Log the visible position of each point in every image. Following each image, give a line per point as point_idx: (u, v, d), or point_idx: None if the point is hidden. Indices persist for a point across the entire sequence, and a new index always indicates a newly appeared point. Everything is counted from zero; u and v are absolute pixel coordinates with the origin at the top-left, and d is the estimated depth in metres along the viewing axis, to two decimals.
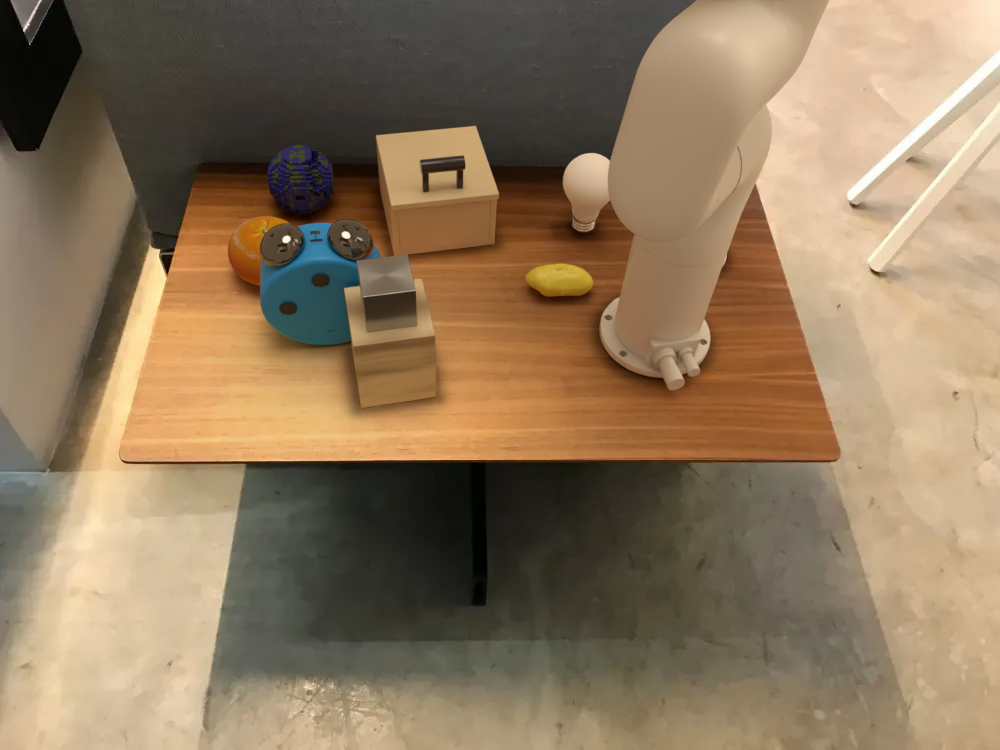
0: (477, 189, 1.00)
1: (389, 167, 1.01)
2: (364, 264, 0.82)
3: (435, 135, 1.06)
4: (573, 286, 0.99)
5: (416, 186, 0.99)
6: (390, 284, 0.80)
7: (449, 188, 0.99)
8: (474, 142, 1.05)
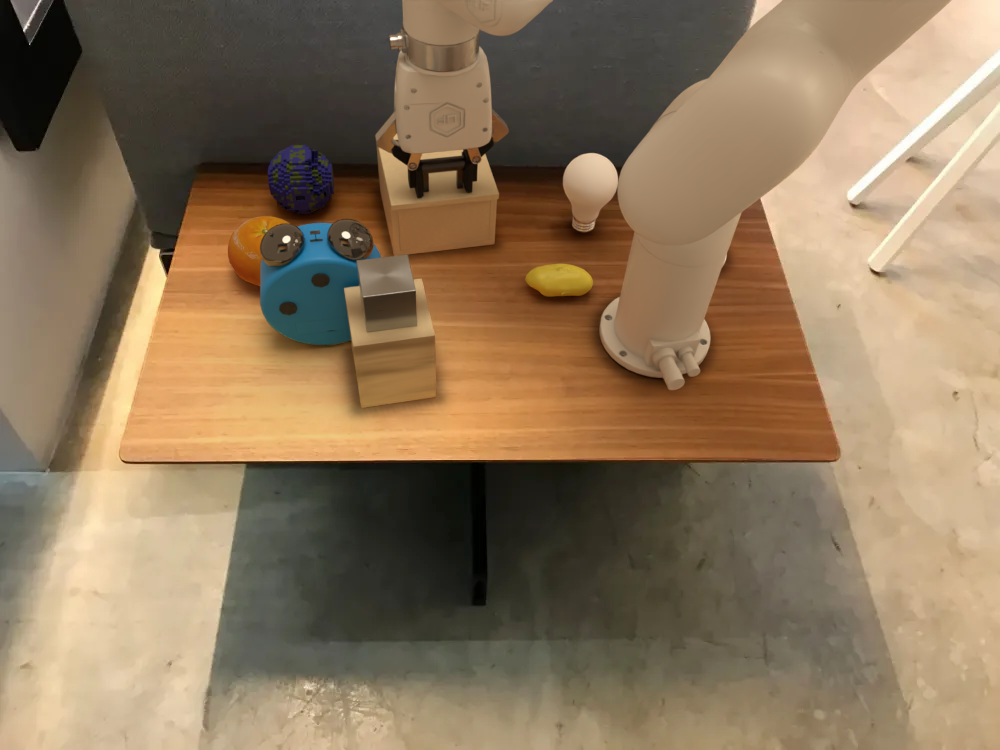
0: (477, 189, 1.00)
1: (389, 167, 1.01)
2: (364, 264, 0.82)
3: None
4: (573, 286, 0.99)
5: None
6: (390, 284, 0.80)
7: (449, 188, 0.99)
8: None
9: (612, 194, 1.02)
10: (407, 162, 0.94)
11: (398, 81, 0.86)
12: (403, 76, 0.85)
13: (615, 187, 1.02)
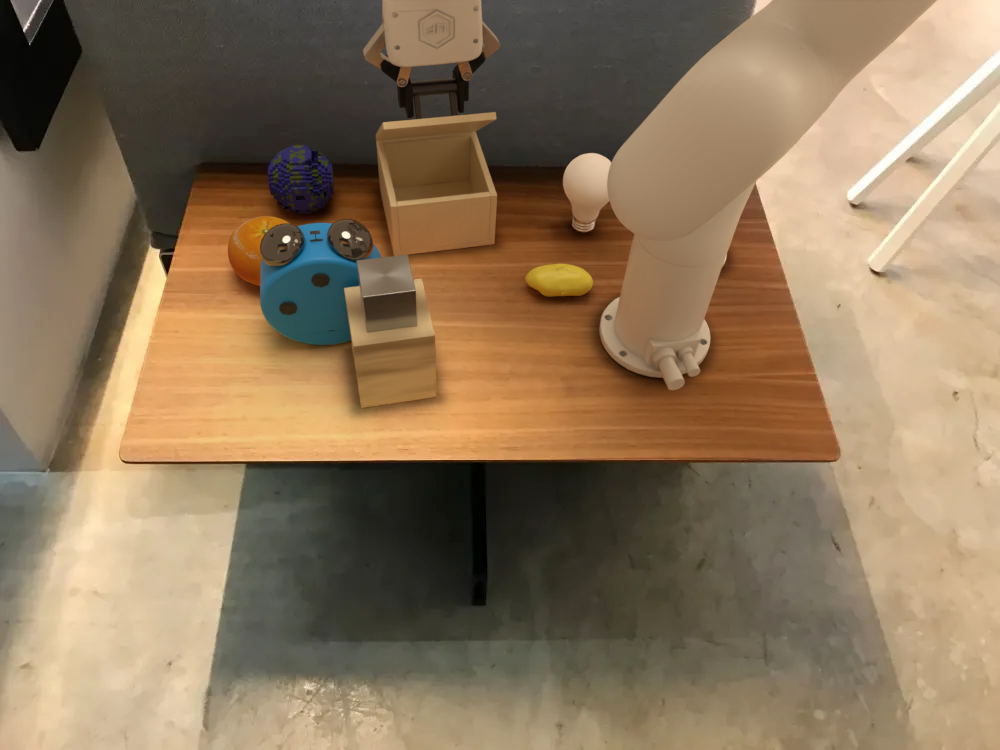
0: None
1: None
2: (364, 264, 0.82)
3: None
4: (573, 286, 0.99)
5: None
6: (390, 284, 0.80)
7: None
8: None
9: None
10: (396, 78, 0.92)
11: None
12: None
13: None
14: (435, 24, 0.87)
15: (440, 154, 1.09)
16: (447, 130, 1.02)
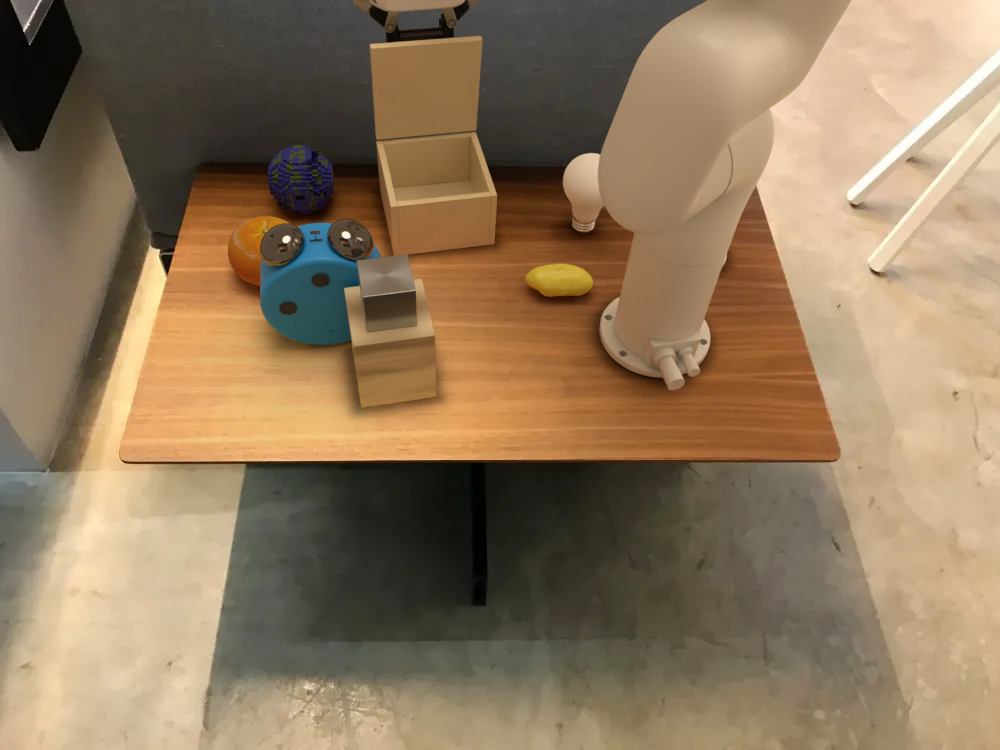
0: None
1: None
2: (364, 264, 0.82)
3: None
4: (573, 286, 0.99)
5: None
6: (390, 284, 0.80)
7: None
8: None
9: None
10: (384, 24, 0.97)
11: None
12: None
13: None
14: None
15: (440, 154, 1.09)
16: (442, 99, 1.02)
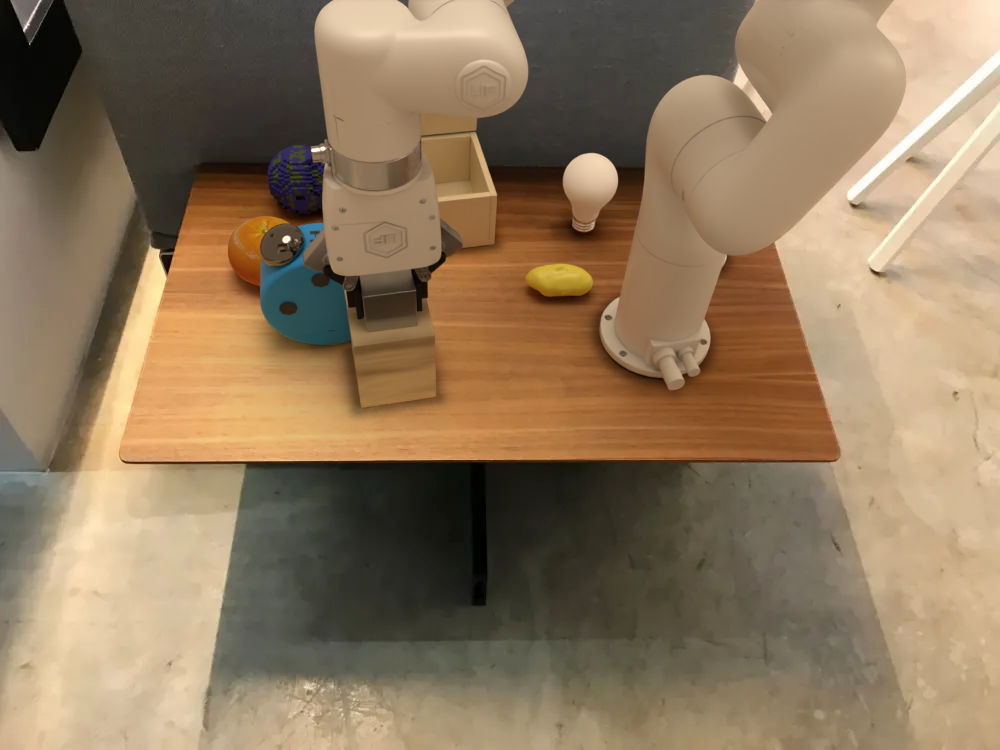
0: None
1: None
2: None
3: None
4: (573, 286, 0.99)
5: None
6: (390, 284, 0.80)
7: None
8: None
9: (612, 194, 1.02)
10: (342, 282, 0.79)
11: (324, 198, 0.71)
12: (329, 194, 0.70)
13: (615, 187, 1.02)
14: (384, 235, 0.74)
15: (440, 154, 1.09)
16: None
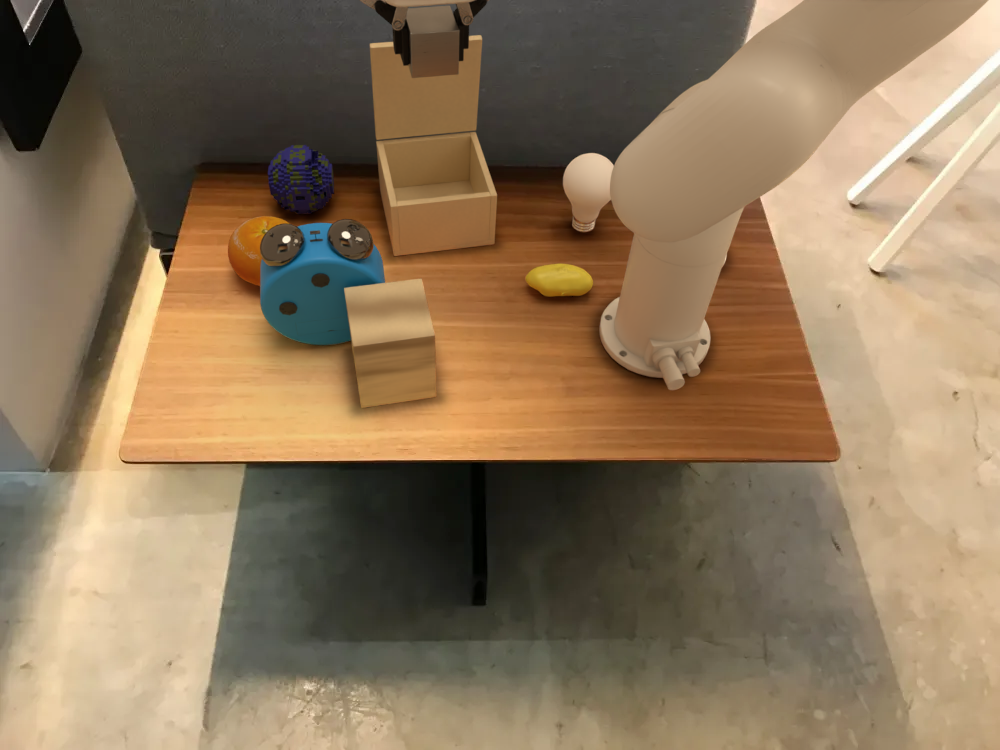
0: None
1: None
2: (410, 11, 0.88)
3: None
4: (573, 286, 0.99)
5: None
6: (435, 26, 0.87)
7: None
8: None
9: None
10: (392, 20, 0.86)
11: None
12: None
13: None
14: None
15: (440, 154, 1.09)
16: (442, 99, 1.02)
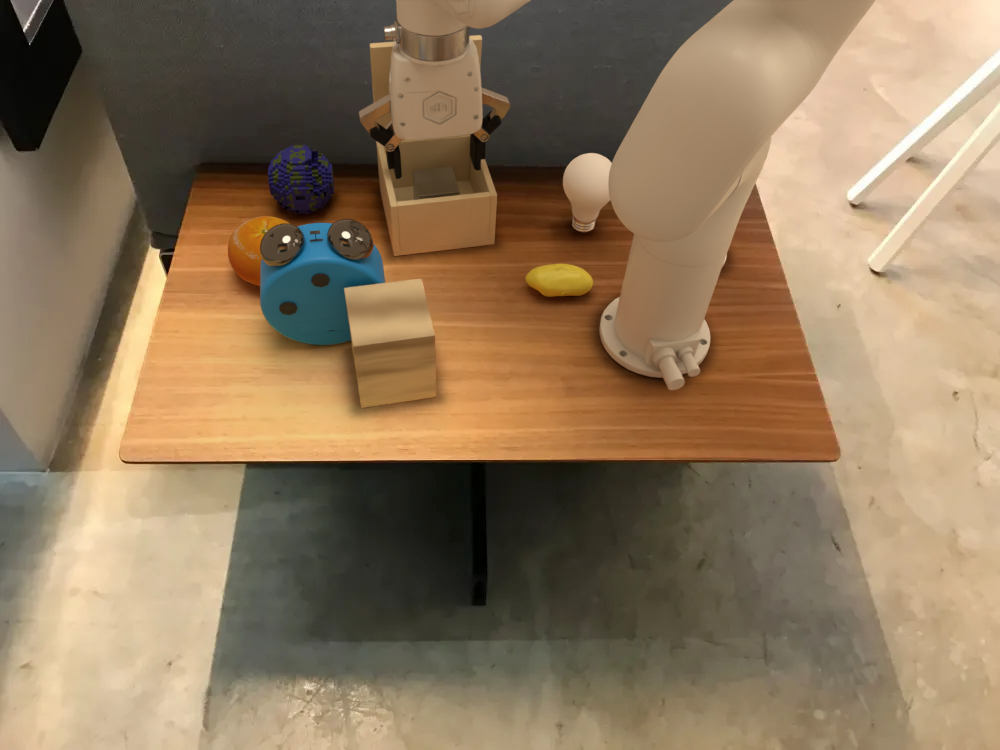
0: None
1: None
2: (419, 173, 1.05)
3: None
4: (573, 286, 0.99)
5: None
6: (439, 187, 1.04)
7: None
8: None
9: None
10: (386, 142, 0.97)
11: (392, 71, 0.90)
12: (397, 66, 0.89)
13: None
14: (438, 103, 0.93)
15: (440, 154, 1.09)
16: None
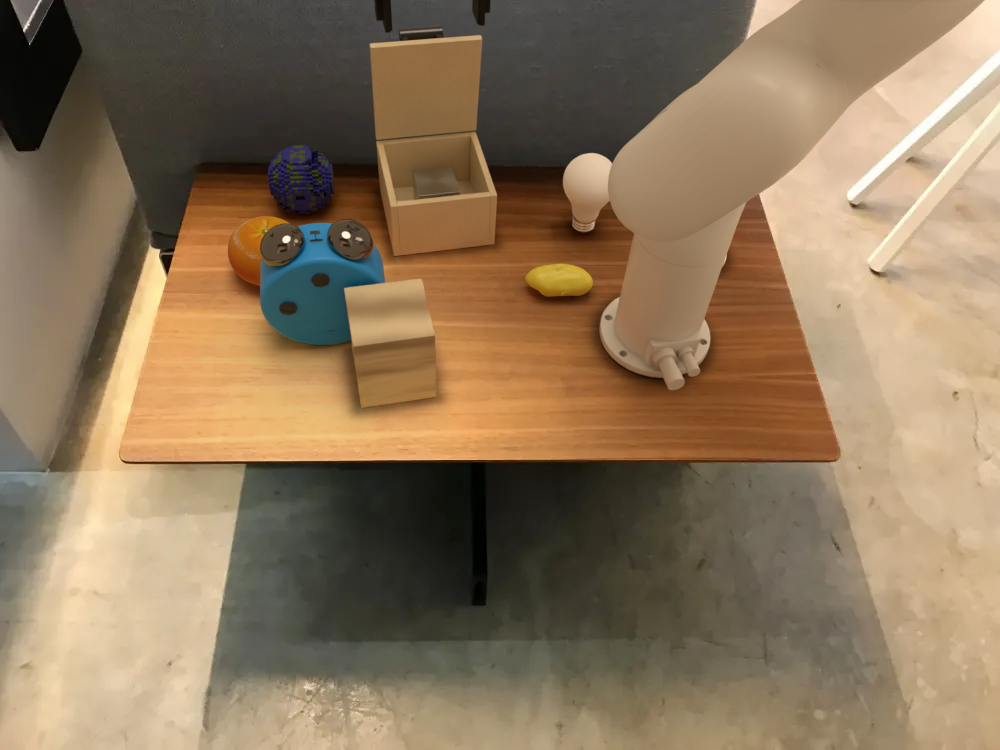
0: None
1: None
2: (419, 173, 1.05)
3: None
4: (573, 286, 0.99)
5: None
6: (439, 187, 1.04)
7: None
8: None
9: None
10: None
11: None
12: None
13: None
14: None
15: (440, 154, 1.09)
16: (442, 99, 1.02)
